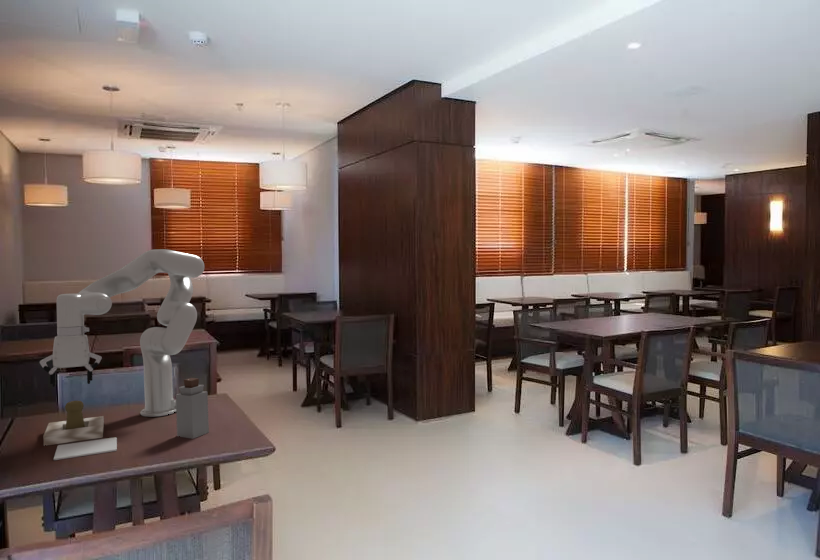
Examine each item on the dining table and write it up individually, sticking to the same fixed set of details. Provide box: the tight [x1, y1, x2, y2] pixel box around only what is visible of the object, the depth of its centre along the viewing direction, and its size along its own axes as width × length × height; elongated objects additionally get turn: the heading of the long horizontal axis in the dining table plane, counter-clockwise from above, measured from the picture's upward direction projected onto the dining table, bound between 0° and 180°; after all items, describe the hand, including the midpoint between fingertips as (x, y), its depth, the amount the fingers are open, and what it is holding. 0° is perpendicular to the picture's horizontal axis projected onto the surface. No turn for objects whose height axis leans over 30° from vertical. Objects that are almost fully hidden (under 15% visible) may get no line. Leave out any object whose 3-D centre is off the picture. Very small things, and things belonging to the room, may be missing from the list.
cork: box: [64, 400, 85, 430], centre depth 186 cm, size 6×6×11 cm
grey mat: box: [53, 437, 118, 461], centre depth 172 cm, size 16×13×1 cm
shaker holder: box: [42, 415, 105, 447], centre depth 187 cm, size 16×16×3 cm
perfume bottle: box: [175, 377, 210, 440], centre depth 185 cm, size 7×7×18 cm
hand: (71, 384), depth 185 cm, fingers open, 9 cm apart
